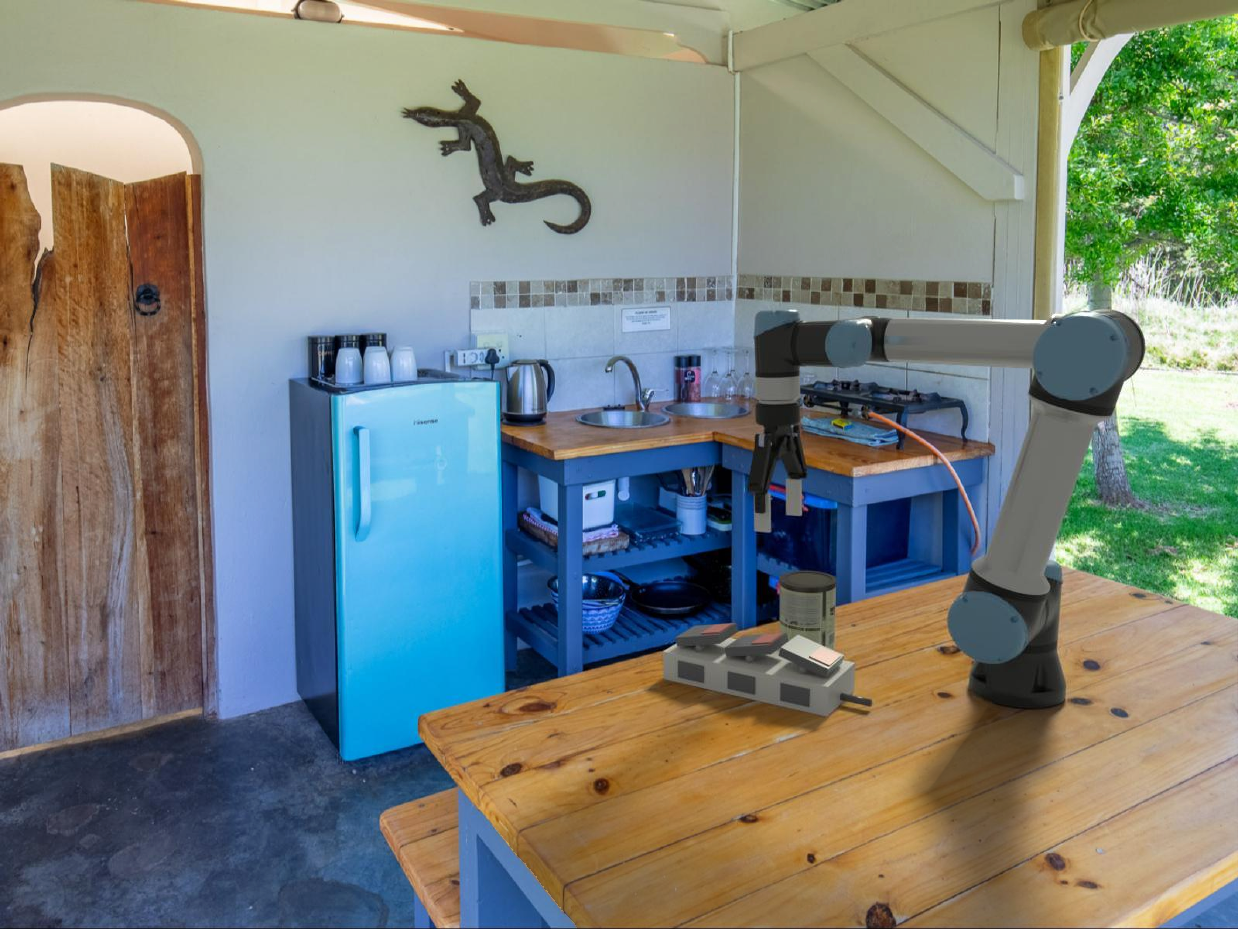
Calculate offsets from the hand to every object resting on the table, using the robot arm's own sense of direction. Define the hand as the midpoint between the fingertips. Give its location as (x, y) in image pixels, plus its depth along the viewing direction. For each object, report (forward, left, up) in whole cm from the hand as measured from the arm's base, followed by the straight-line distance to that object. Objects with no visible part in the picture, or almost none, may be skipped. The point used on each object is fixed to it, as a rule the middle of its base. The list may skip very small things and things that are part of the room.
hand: (778, 523), depth 183 cm
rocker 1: (+9, +9, -20) cm, 24 cm away
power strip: (-3, +9, -26) cm, 28 cm away
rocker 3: (-10, +9, -20) cm, 24 cm away
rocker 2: (-1, +9, -20) cm, 22 cm away
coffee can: (-2, -10, -27) cm, 28 cm away
